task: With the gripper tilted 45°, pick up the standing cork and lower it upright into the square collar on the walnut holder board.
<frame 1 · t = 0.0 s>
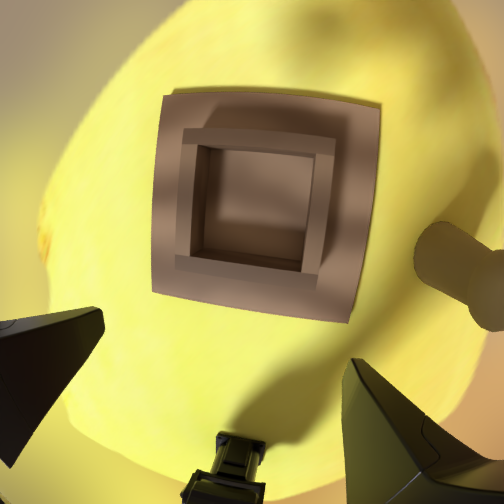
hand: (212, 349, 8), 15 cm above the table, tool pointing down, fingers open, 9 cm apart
cork: (439, 254, 20), on the table
holder board: (257, 202, 22), on the table
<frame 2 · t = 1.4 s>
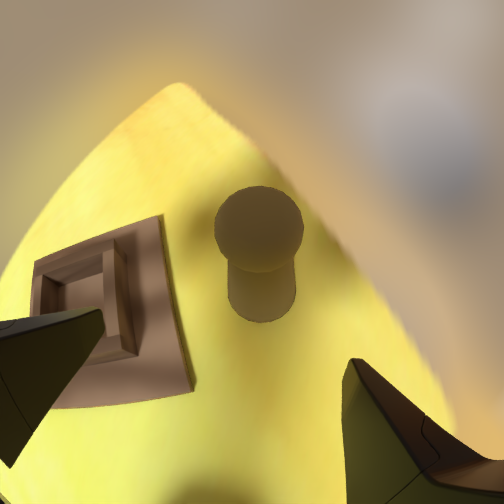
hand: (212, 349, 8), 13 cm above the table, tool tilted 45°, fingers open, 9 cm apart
cork: (261, 290, 24), on the table
holder board: (91, 316, 23), on the table
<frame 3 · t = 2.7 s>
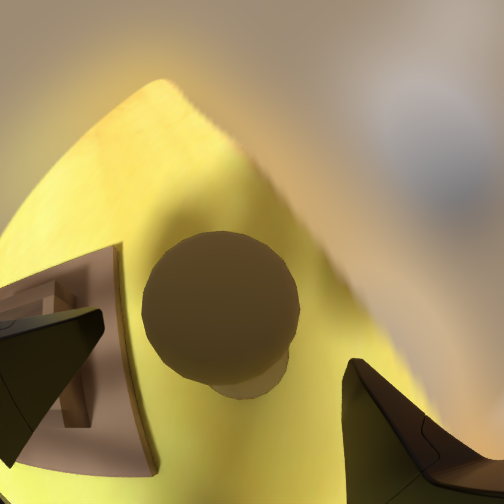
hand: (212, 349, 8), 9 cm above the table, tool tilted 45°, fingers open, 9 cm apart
cork: (242, 355, 17), on the table
holder board: (43, 368, 16), on the table
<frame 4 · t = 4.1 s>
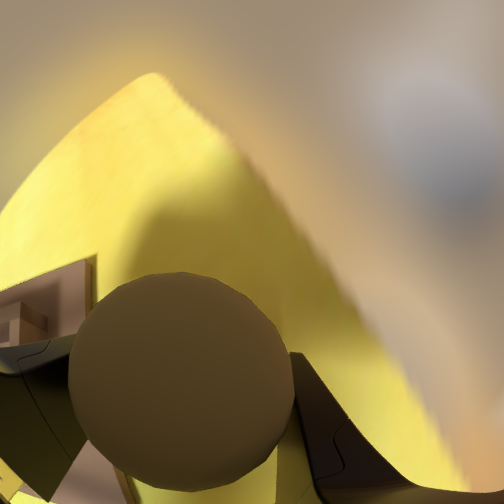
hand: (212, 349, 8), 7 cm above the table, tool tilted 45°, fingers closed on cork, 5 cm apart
cork: (229, 393, 14), on the table, touching gripper
holder board: (19, 391, 12), on the table
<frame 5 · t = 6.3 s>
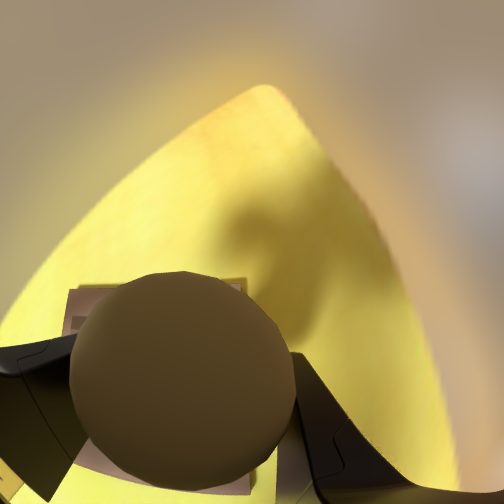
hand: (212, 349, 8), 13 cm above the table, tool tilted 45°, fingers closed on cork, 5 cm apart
cork: (230, 392, 14), point 6 cm above the table, touching gripper
holder board: (139, 388, 19), on the table
when the fingers open (8 cm above the table, at t = 8.7 s): cork stays where it is, resting on holder board.
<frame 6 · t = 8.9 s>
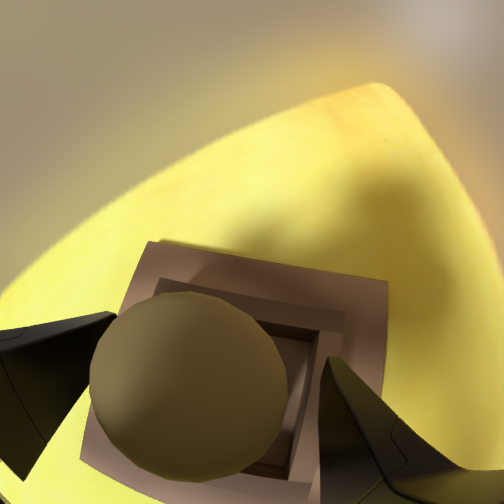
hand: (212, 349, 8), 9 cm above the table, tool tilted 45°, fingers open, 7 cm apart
cork: (231, 395, 14), point 1 cm above the table, touching holder board
holder board: (233, 393, 15), on the table
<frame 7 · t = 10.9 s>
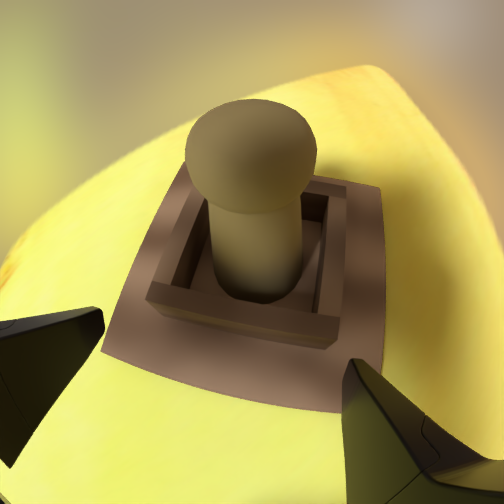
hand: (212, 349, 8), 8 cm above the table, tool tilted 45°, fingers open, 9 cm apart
cork: (258, 263, 18), point 1 cm above the table, touching holder board
holder board: (258, 267, 19), on the table
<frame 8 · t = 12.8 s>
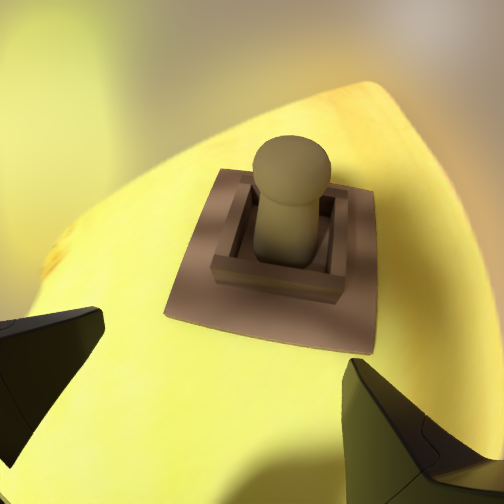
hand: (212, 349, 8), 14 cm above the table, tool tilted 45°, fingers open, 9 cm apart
cork: (285, 245, 25), point 1 cm above the table, touching holder board
holder board: (284, 248, 26), on the table
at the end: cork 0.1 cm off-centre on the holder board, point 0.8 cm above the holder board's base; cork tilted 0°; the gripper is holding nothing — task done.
